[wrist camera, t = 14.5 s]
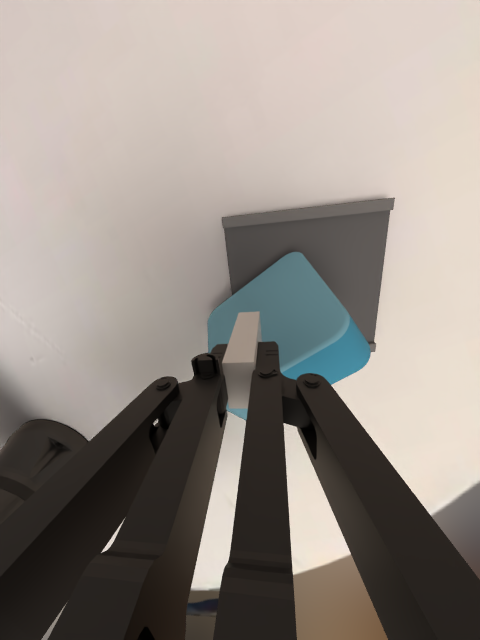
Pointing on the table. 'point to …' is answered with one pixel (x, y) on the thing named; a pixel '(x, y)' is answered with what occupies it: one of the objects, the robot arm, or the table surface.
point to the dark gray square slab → (318, 250)
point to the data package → (295, 322)
